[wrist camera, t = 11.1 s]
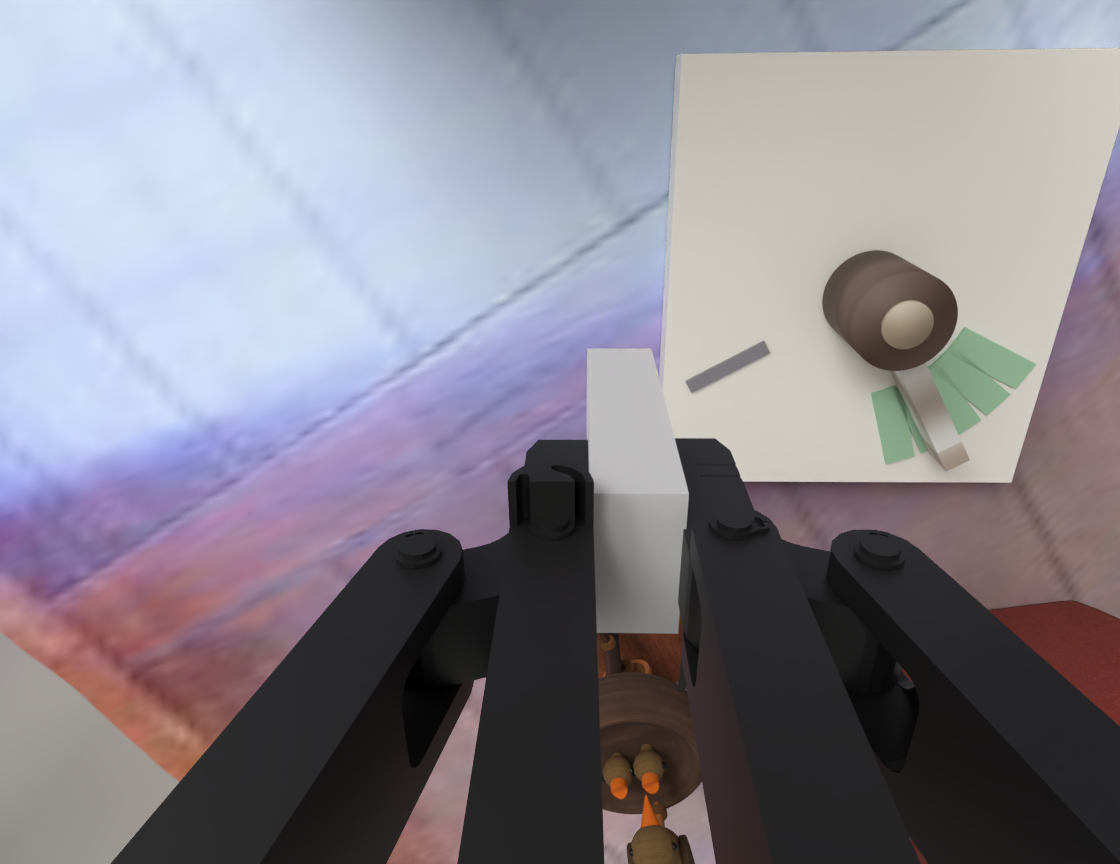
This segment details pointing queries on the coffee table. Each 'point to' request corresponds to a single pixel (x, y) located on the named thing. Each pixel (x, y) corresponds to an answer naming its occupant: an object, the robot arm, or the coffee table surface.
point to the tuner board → (873, 245)
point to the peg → (899, 335)
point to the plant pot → (1071, 649)
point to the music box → (646, 739)
